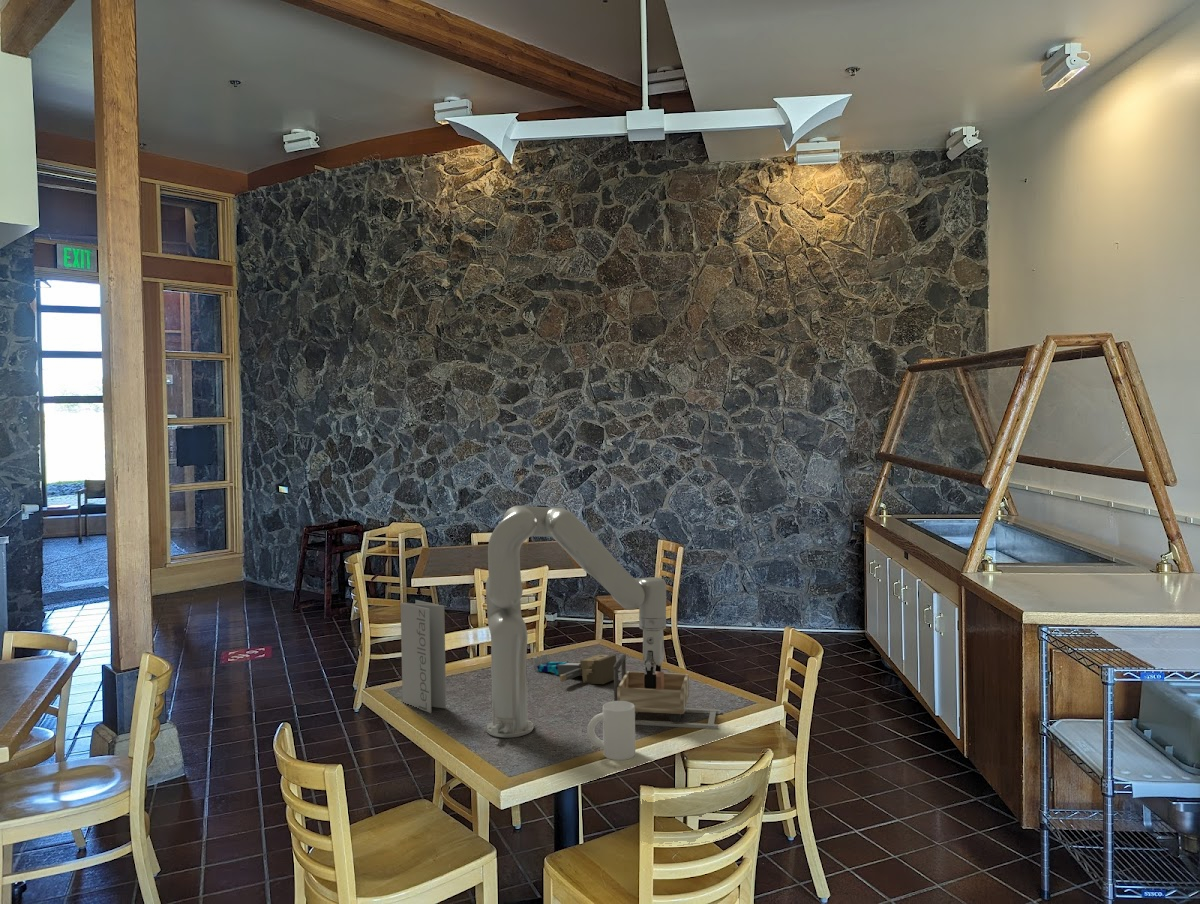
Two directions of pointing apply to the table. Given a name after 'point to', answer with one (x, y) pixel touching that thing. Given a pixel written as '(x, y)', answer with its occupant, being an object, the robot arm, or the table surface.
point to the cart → (652, 691)
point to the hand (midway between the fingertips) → (652, 683)
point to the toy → (580, 668)
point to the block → (658, 680)
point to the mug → (615, 730)
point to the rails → (689, 725)
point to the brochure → (423, 655)
